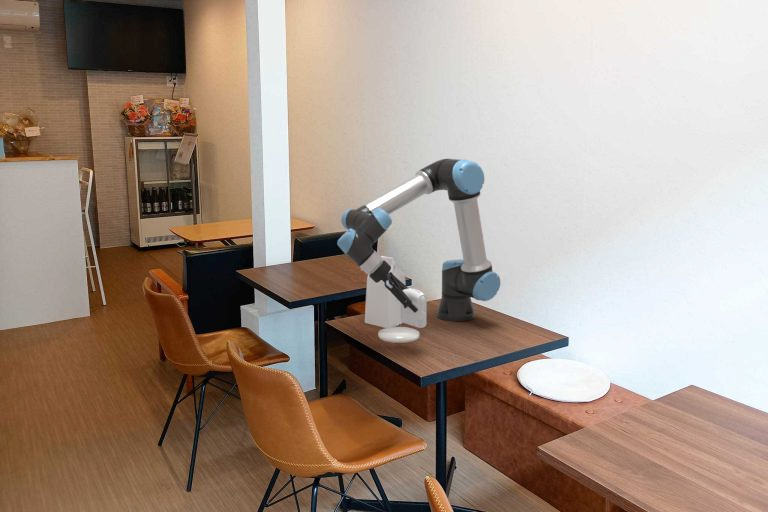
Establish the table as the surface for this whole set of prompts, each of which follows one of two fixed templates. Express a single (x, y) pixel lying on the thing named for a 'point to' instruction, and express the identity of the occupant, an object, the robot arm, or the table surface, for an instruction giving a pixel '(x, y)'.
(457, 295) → the robot arm
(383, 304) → the milk
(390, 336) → the white plate
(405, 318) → the photo printer
